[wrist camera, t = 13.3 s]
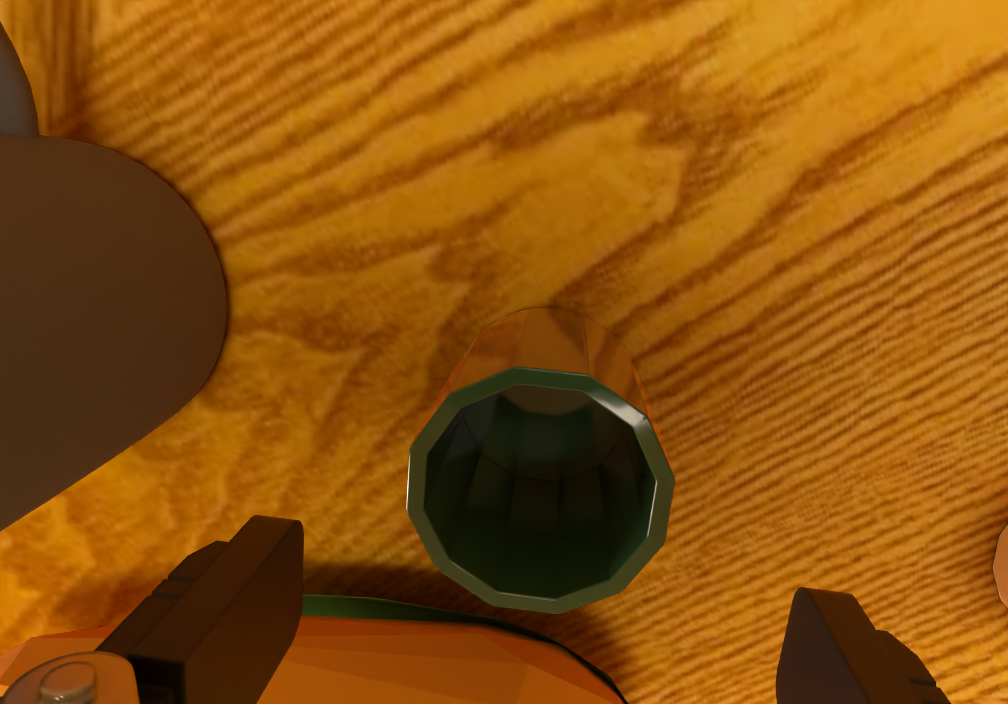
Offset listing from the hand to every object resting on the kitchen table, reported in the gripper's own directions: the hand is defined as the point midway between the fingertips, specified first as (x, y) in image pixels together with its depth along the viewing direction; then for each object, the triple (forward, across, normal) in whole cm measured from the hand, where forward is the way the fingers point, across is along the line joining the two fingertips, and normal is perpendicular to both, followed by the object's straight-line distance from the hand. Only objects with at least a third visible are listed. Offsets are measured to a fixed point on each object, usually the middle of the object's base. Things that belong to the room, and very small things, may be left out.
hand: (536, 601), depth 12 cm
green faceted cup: (+10, 0, 0) cm, 10 cm away
